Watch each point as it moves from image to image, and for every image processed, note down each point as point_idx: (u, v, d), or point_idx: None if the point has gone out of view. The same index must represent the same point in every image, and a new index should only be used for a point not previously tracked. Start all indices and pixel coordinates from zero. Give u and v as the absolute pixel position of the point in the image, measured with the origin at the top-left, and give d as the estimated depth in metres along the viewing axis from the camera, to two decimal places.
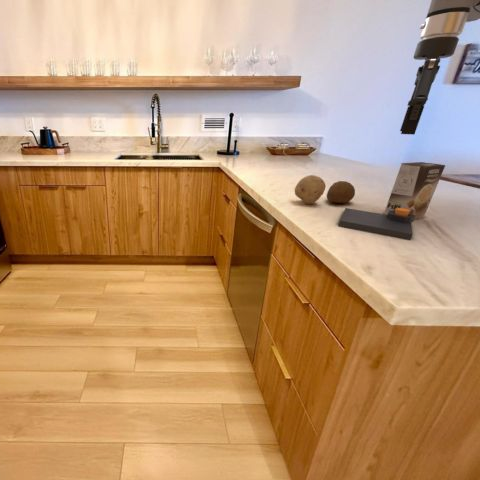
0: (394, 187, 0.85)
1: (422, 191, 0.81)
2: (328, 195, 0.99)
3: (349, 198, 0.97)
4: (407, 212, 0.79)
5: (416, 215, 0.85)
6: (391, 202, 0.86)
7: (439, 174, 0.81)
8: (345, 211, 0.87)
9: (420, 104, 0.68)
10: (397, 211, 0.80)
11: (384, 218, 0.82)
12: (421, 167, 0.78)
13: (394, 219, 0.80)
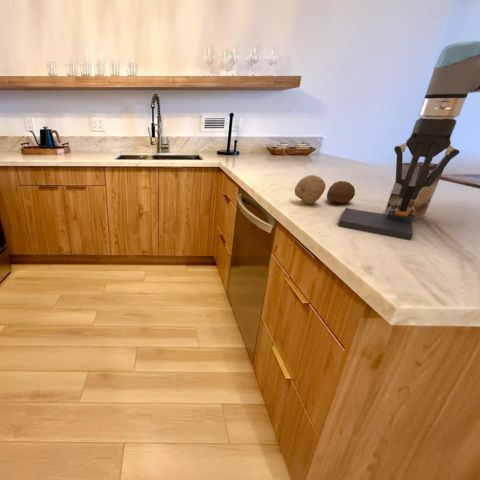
0: (394, 187, 0.85)
1: (422, 191, 0.81)
2: (328, 195, 0.99)
3: (349, 198, 0.97)
4: (407, 213, 0.79)
5: (416, 215, 0.85)
6: (391, 202, 0.86)
7: (439, 174, 0.81)
8: (345, 211, 0.87)
9: None
10: (397, 212, 0.80)
11: (384, 218, 0.82)
12: None
13: (394, 219, 0.80)
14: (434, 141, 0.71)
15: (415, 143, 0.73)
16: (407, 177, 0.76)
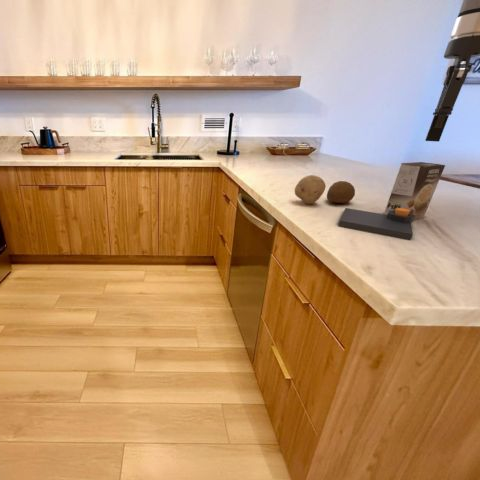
0: (394, 187, 0.85)
1: (422, 191, 0.81)
2: (328, 195, 0.99)
3: (349, 198, 0.97)
4: (407, 212, 0.79)
5: (416, 215, 0.85)
6: (391, 202, 0.86)
7: (439, 174, 0.81)
8: (345, 211, 0.87)
9: None
10: (397, 211, 0.80)
11: (384, 218, 0.82)
12: (421, 167, 0.78)
13: (394, 219, 0.80)
14: None
15: None
16: None
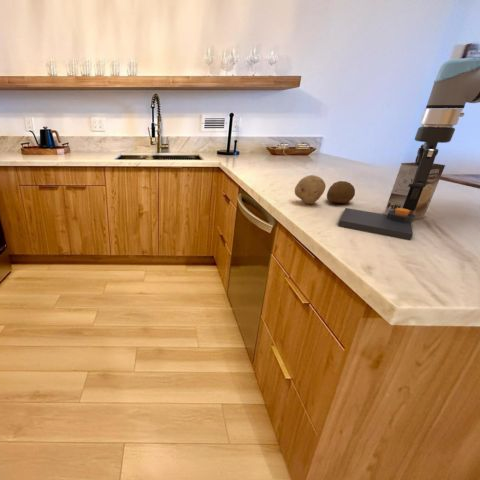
0: (394, 187, 0.85)
1: (422, 191, 0.81)
2: (328, 195, 0.99)
3: (349, 198, 0.97)
4: (407, 212, 0.79)
5: (416, 215, 0.85)
6: (391, 202, 0.86)
7: (439, 174, 0.81)
8: (345, 211, 0.87)
9: None
10: (397, 211, 0.80)
11: (384, 218, 0.82)
12: None
13: (394, 219, 0.80)
14: None
15: None
16: None
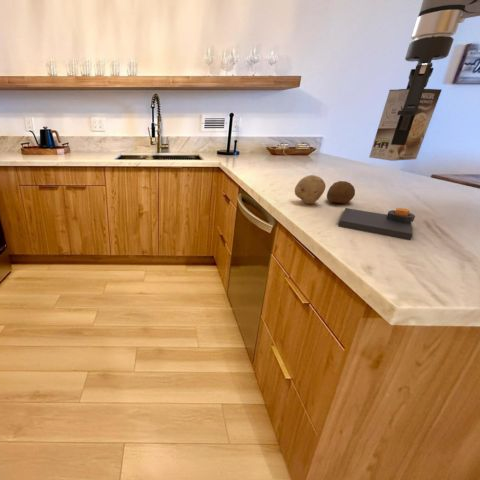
0: (381, 121, 0.72)
1: (414, 122, 0.68)
2: (328, 195, 0.99)
3: (349, 198, 0.97)
4: (407, 212, 0.79)
5: (407, 153, 0.71)
6: (378, 139, 0.73)
7: (434, 101, 0.67)
8: (345, 211, 0.87)
9: None
10: (397, 211, 0.80)
11: (384, 218, 0.82)
12: None
13: (394, 219, 0.80)
14: None
15: None
16: None
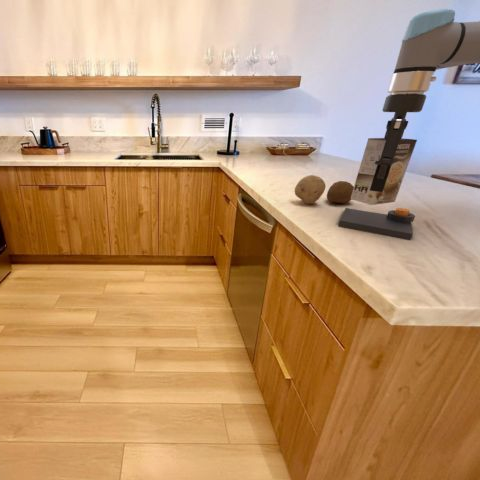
0: (361, 166, 0.75)
1: (391, 170, 0.71)
2: (328, 195, 0.99)
3: (349, 198, 0.97)
4: (407, 212, 0.79)
5: (386, 198, 0.75)
6: (358, 183, 0.76)
7: (410, 150, 0.71)
8: (345, 211, 0.87)
9: None
10: (397, 211, 0.80)
11: (384, 218, 0.82)
12: None
13: (394, 219, 0.80)
14: None
15: None
16: None
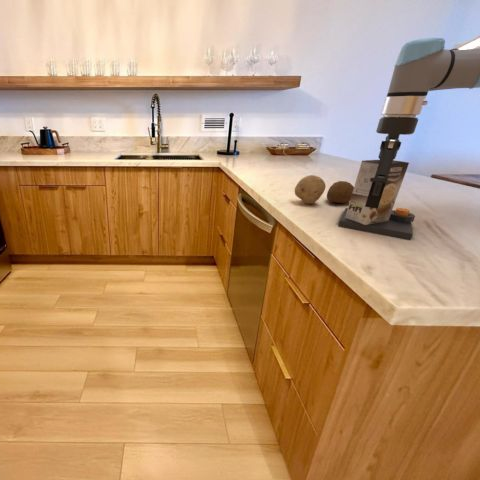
0: (355, 187, 0.77)
1: (384, 192, 0.73)
2: (328, 195, 0.99)
3: (349, 198, 0.97)
4: (407, 212, 0.79)
5: (379, 218, 0.77)
6: (352, 203, 0.79)
7: (402, 172, 0.73)
8: (345, 211, 0.87)
9: None
10: (397, 211, 0.80)
11: None
12: None
13: (394, 219, 0.80)
14: None
15: None
16: None
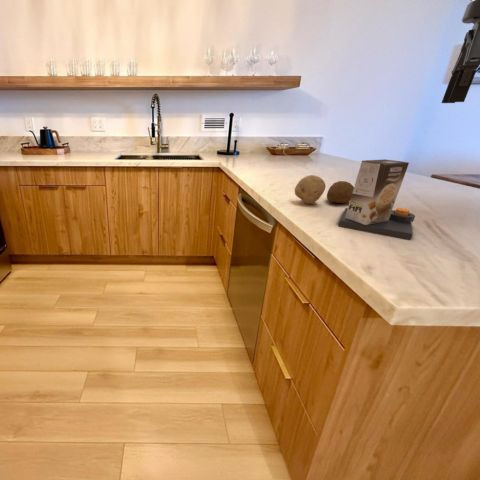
0: (355, 187, 0.77)
1: (384, 192, 0.73)
2: (328, 195, 0.99)
3: (349, 198, 0.97)
4: (407, 212, 0.79)
5: (379, 218, 0.77)
6: (352, 203, 0.79)
7: (402, 172, 0.73)
8: (345, 211, 0.87)
9: None
10: (397, 211, 0.80)
11: None
12: (381, 165, 0.71)
13: (394, 219, 0.80)
14: None
15: None
16: None
